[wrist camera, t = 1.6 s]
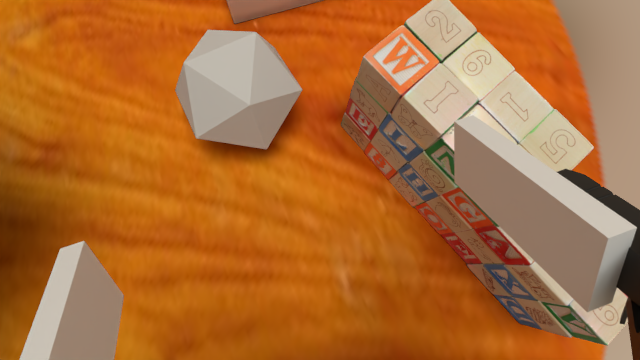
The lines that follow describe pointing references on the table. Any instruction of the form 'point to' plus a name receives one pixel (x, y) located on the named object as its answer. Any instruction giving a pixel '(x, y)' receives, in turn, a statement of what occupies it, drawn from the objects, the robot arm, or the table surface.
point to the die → (236, 89)
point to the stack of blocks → (438, 154)
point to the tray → (261, 8)
